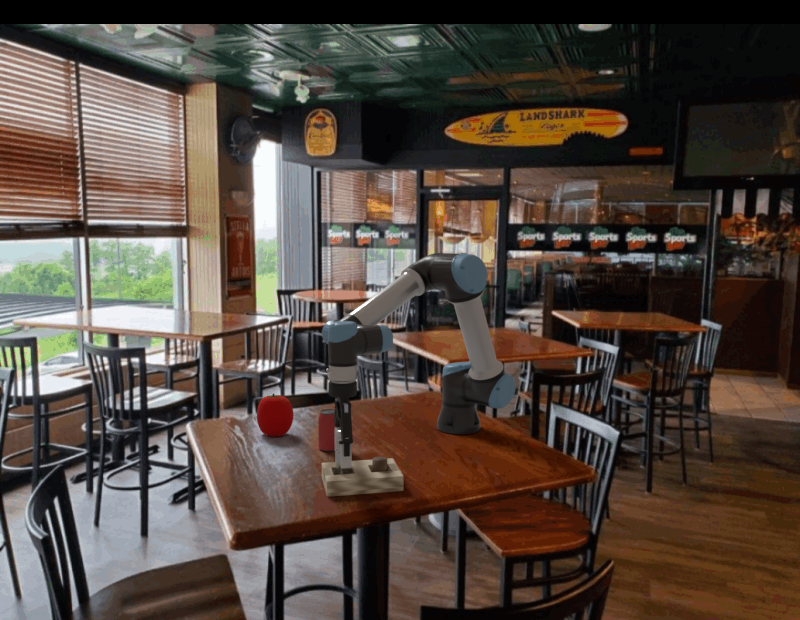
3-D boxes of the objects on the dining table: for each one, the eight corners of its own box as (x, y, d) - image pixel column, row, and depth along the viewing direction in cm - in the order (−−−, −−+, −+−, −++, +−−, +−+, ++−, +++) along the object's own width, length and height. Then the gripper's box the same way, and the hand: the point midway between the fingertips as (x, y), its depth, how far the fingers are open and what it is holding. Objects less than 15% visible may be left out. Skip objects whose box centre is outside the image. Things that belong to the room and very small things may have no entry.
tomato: (249, 437, 213) (248, 395, 212) (268, 428, 224) (267, 387, 222) (281, 442, 209) (281, 399, 207) (300, 432, 219) (299, 391, 217)
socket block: (392, 471, 183) (392, 449, 182) (403, 490, 169) (403, 466, 169) (321, 476, 179) (321, 454, 178) (326, 496, 165) (326, 472, 164)
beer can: (336, 452, 199) (336, 414, 197) (315, 451, 200) (315, 413, 199) (342, 446, 205) (342, 409, 204) (322, 444, 206) (322, 407, 205)
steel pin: (349, 478, 175) (349, 427, 174) (351, 483, 171) (351, 431, 170) (334, 479, 174) (334, 428, 173) (336, 484, 170) (336, 432, 169)
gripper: (323, 371, 181) (324, 444, 183) (333, 392, 157) (334, 476, 159) (350, 370, 183) (350, 443, 185) (364, 390, 158) (364, 474, 161)
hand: (342, 458), depth 172 cm, fingers open, 13 cm apart
